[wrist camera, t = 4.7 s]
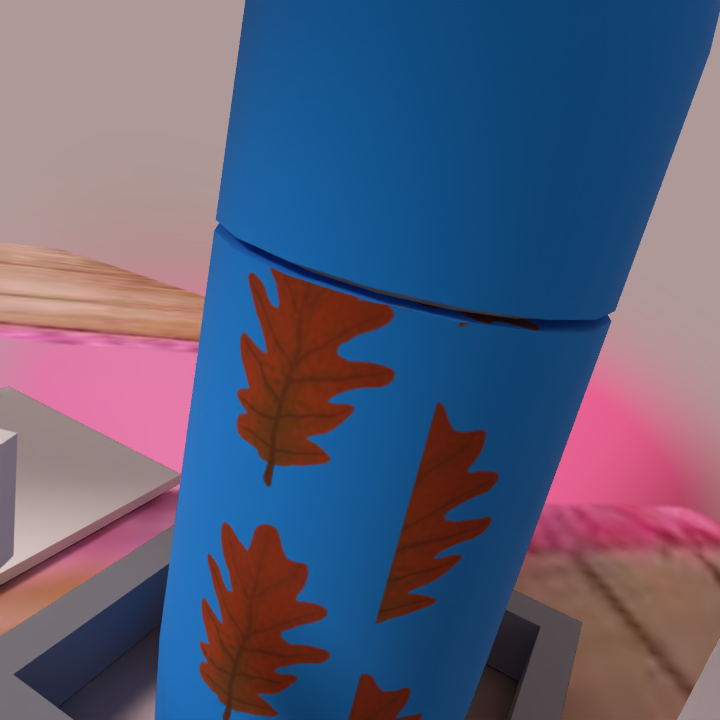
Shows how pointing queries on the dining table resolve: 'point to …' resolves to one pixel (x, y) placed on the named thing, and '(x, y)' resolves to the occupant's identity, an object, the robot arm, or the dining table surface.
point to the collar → (144, 613)
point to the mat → (69, 480)
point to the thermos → (403, 334)
